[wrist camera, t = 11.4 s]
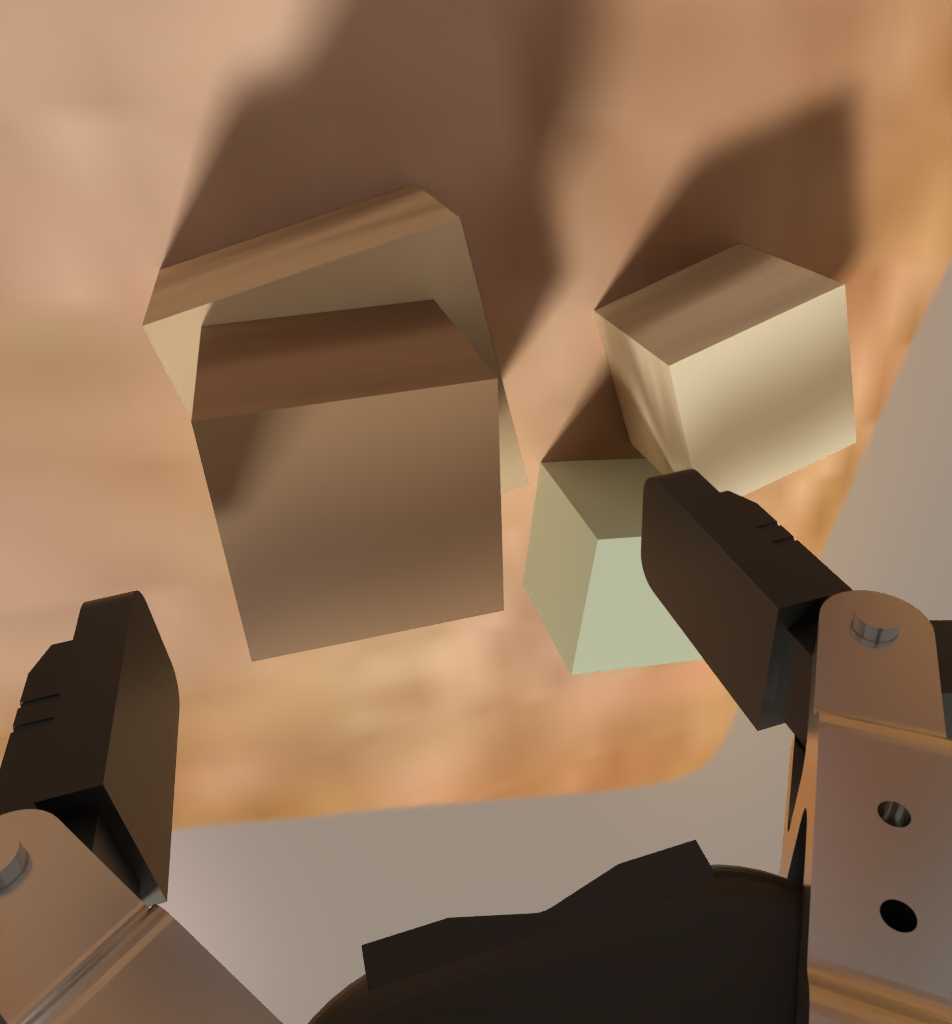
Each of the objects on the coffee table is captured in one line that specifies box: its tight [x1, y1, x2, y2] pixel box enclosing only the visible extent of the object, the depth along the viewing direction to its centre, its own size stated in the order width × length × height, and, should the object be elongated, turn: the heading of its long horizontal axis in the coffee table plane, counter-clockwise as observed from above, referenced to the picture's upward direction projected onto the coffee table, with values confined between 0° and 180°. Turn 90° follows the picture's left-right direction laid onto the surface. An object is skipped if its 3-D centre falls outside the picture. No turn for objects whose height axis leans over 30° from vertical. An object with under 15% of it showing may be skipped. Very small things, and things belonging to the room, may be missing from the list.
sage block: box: [523, 458, 703, 675], centre depth 26 cm, size 5×5×5 cm
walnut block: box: [191, 299, 504, 662], centre depth 16 cm, size 5×5×5 cm
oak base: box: [142, 184, 529, 495], centre depth 20 cm, size 7×7×5 cm
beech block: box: [594, 243, 856, 496], centre depth 23 cm, size 5×5×5 cm
